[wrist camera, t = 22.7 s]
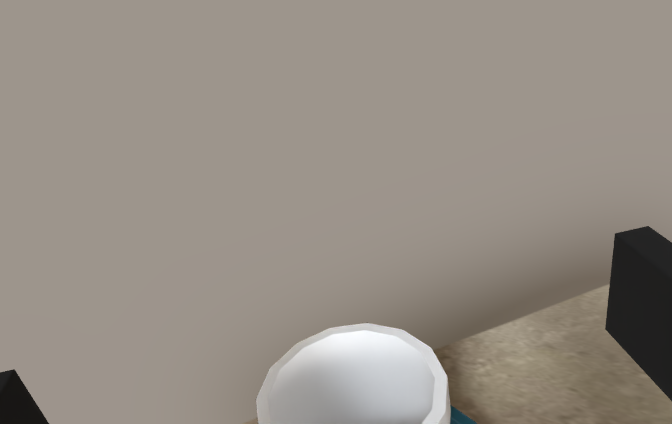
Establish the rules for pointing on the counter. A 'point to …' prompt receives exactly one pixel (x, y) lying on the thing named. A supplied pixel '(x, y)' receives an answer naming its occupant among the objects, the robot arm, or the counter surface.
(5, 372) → the robot arm
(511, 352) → the counter surface
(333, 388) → the foam cup
